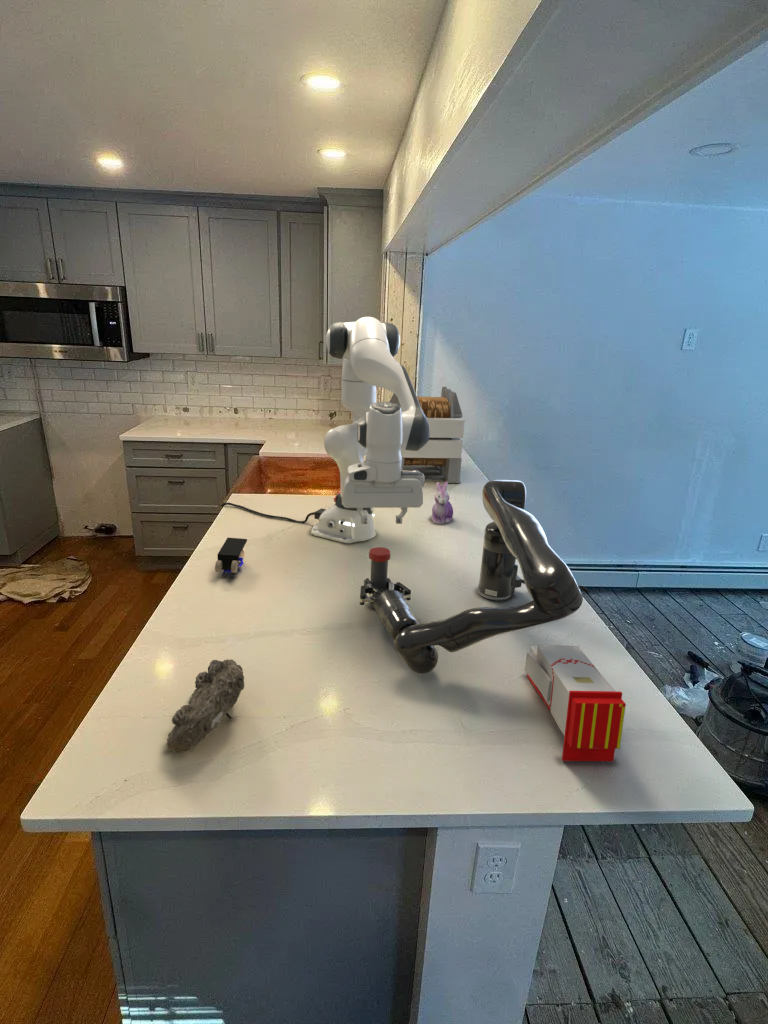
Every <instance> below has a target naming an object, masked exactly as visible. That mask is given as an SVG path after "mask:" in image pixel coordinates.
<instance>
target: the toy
mask: <svg viewBox="0 0 768 1024" xmlns="http://www.w3.org/2000/svg"><path fill="white" fill-rule="evenodd" d="M524 671H525V672H526V674H527V675H526V677H527V678H528V680H529V682H530V683H531V685H532V686H533V687H534V689H535V690H536V692H537V694H538V695H539V697H540V698H541V699H542V701H543V703H544V705H545V706H546V707H547V709H548V711H550V714H551V716H552V717H553V719H554V722H555V723H556V725H557V726H558V728H559V730H560V731H561V733H562V735H563V747H562V754H561V760H562V761H563V762H614V760H615V759H614V758H615V751H616V750H617V749H618V750H620V749H621V743H622V735H623V727H624V720H625V713H626V702H625V701H624V699H623V692H622V691H620V690H619V691H618V690H617V691H616V690H615V689H614V687H612V685H611V684H610V683H609V682H608V680H607V679H606V678H605V677H604V675H602V673H601V672H600V671H599V670H598V668H597V667H596V666H595V665H594V664H593V663H592V661H591V660H590V659H589V657H587V655H586V654H585V653H584V652H583V650H582V649H581V648H580V647H579V646H578V645H541V644H540V645H536V646H534V645H533V646H530V650H529V651H526V656H525V664H524Z"/></svg>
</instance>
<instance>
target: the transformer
mask: <svg viewBox="0 0 768 1024" xmlns="http://www.w3.org/2000/svg"><path fill="white" fill-rule="evenodd" d="M440 393H441V394H440V396H417V395H416V396H417V399H418V401H419V404H420V407H421V409H422V411H423V413H424V414H425V416H426V418H427V420H428V423H429V428H430V435H429V440H428V442H427V443H426V444H425V445H424V446H423V447H422V448H421V449H419V450H418V451H410V450H401V455H402V469H401V470H404V469H405V466H406V467H407V466H411V467H412V466H413V467H415V466H416V467H417V466H418V467H436V468H437V470H438V469H439V473H440V474H441V475H443V478H444V479H445V482H446V481H447V482H448V484H455V483H456V484H459V483H461V472H462V461H463V460H462V453H463V442H464V441H463V440H462V439H463V438H464V431H465V430H464V429H465V419H464V418H463V411H462V408H461V405H460V402H459V398H458V395H457V392H455V391H453V390H452V389H451V388H447V386H442V387H441V392H440ZM388 402H391V403H395V404H397V405H399V406H400V407H401V405H400V403H399V400H398V397H397V396H396V395H395V394H394V393H393V394H392V395H391V398H390V400H389V401H388ZM401 410H402V408H401ZM402 412H403V411H402Z"/></svg>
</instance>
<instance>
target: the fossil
mask: <svg viewBox="0 0 768 1024" xmlns="http://www.w3.org/2000/svg"><path fill="white" fill-rule="evenodd" d="M243 670H244V669H243V667H242V665H240V664H237V662H236V661H235V660H234V659H232V658H231V659H227V658H226V659H224V660H223V661H222V660H217V659H212V660H211V661H210V663H209V665H208V666H207V671H201V672H199V673H198V674H197V675H196V676H195V680H194V684H195V685H194V687H195V689H194V690H193V693H192V694H191V697H190V698H189V700H188V704H184V705H182V706H181V707H180V709H177V710H176V711H175V713H174V715H173V716H172V718H171V723H172V724H173V727H172V730H171V731H170V732H168V734H167V738H166V741H167V742H166V745H167V749H168V750H169V751H173V752H174V753H176V754H178V753H182V752H188V751H189V752H192V751H193V750H195V748H196V747H197V746H199V744H200V743H201V742H203V741H204V740H205V739H206V738H207V737H208V736H209V735H210V734H211V733H212V732H214V730H215V729H217V727H218V726H219V724H220V722H221V721H222V720H223V719H224V718H225V716H226V717H227V719H229V720H233V717H232V715H230V714H229V710H230V709H231V708H234V706H235V704H236V703H237V702H238V699H239V697H240V695H241V693H242V691H243V690H245V689H244V688H245V675H244V671H243Z"/></svg>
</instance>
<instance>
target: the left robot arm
mask: <svg viewBox="0 0 768 1024" xmlns="http://www.w3.org/2000/svg"><path fill="white" fill-rule="evenodd" d="M325 345H326V349H327V351H328V354H329V355H330V356H331V357H332V358H334V359H338V360H342V368H341V404H342V406H343V407H344V408H345V409H346V410H348V411H349V412H350V415H351V417H352V423H347V424H341V425H338V426H336V427H333V428H331V429H329V430H328V431H327V432H326V433H325V436H324V438H323V447H324V449H325V452H326V454H327V455H328V456H329V457H330V458H332V460H334V462H335V463H336V465H337V468H338V471H339V479H340V480H339V481H340V484H339V485H340V488H339V489H340V490H339V491H338V492H337V494H336V495H335V496H334V497H333V502H334V504H333V505H331V506H329V507H328V508H319V509H318V510H316V511H313V512H310V513H308V514H307V515H306V516H305V519H304V520H296V519H293V518H290V517H286V516H279V515H273V514H272V515H271V514H266V513H263V512H259V511H257V510H254V509H251V508H248V507H246V506H243V505H240V504H236V503H232V502H223V503H222V504H220V507H225V506H231V507H235V508H239V509H242V510H245V511H247V512H249V513H253V514H256V515H259V516H262V517H265V518H266V517H267V518H270V519H279V520H285V521H290V522H293V523H297V524H306V523H307V522H308V521H309V518H310V517H311V516H313V515H314V517H313V518H314V519H315V520H318V521H317V523H315V524H314V525H313V526H312V528H311V530H310V533H311V536H315V537H319V538H323V539H326V540H330V541H336V542H339V543H343V544H352V543H357V542H365V541H368V540H372V539H373V538H375V537H376V535H377V532H376V528H375V523H374V517H375V513H373V512H374V509H376V508H377V509H378V508H379V509H383V508H384V509H386V508H387V509H395V508H397V509H399V508H400V510H401V511H400V513H399V514H397V515H395V524H397V525H402V524H403V518H404V517H405V515H406V514H407V513H408V509H409V508H410V509H411V508H417V509H418V508H421V507H422V505H423V504H424V493H423V488H424V485H425V480H426V477H425V474H424V473H422V472H420V470H416V469H414V470H408V469H407V470H404V469H403V470H401V469H402V455H401V450H410V451H418V450H419V449H421V448H422V447H423V446H424V445H425V444H426V443H427V442H428V440H429V435H430V428H429V423H428V420H427V418H426V416H425V414H424V413H423V411H422V409H421V407H420V404H419V401H418V399H417V394H416V391H415V388H414V386H413V383H412V381H411V378H410V376H409V373H408V371H407V369H406V367H405V366H404V365H403V364H401V363H399V361H397V360H396V359H395V356H396V355H397V354H398V352H399V349H400V345H401V336H400V333H399V328H398V327H397V325H396V324H393V323H390V322H386V321H385V322H381V321H380V320H379V319H377V318H376V317H373V316H362V317H360V318H358V319H357V320H356V321H347V322H343V321H337V322H333V323H331V324H330V325H329V327H328V329H327V331H326V334H325ZM377 387H378V388H380V389H381V388H382V389H384V390H386V391H387V390H388V391H389V392H391V393H393V394H395V395H396V396H397V397H398V400H399V403H400V405H401V407H400V406H399V405H397V404H395V403H391V402H389V401H377ZM401 408H402V410H401ZM402 411H403V412H402ZM364 456H365V460H364Z"/></svg>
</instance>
